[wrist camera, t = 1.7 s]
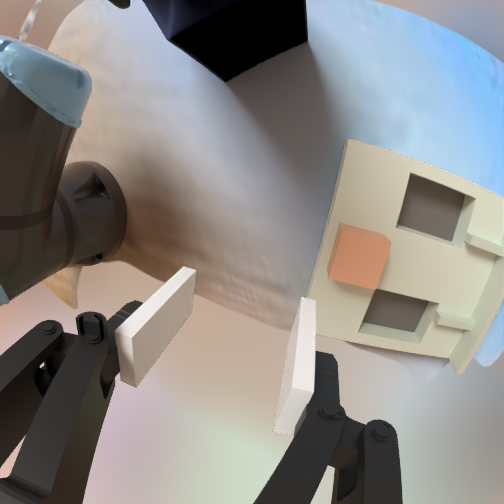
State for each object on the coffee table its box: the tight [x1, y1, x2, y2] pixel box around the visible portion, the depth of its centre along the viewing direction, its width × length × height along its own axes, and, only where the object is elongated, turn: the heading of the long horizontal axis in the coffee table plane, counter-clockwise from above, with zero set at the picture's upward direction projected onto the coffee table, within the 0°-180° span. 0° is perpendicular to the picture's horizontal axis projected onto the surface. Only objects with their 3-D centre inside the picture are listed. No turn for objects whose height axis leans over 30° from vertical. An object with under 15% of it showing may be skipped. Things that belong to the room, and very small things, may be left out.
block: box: [327, 223, 391, 290], centre depth 28 cm, size 5×5×3 cm
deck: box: [305, 138, 504, 374], centre depth 28 cm, size 23×22×6 cm
